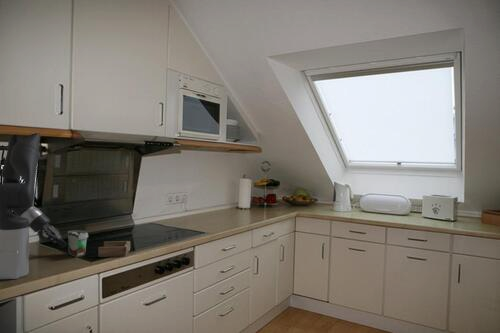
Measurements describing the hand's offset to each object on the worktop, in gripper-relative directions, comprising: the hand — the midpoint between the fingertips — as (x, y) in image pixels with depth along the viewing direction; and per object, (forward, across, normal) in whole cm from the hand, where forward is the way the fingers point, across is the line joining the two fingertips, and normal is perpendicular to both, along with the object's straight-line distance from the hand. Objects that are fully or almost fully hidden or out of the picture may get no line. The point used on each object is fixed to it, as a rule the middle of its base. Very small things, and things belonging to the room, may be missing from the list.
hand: (65, 246), depth 154 cm
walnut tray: (+18, 0, -12) cm, 21 cm away
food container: (+7, 0, -1) cm, 7 cm away
